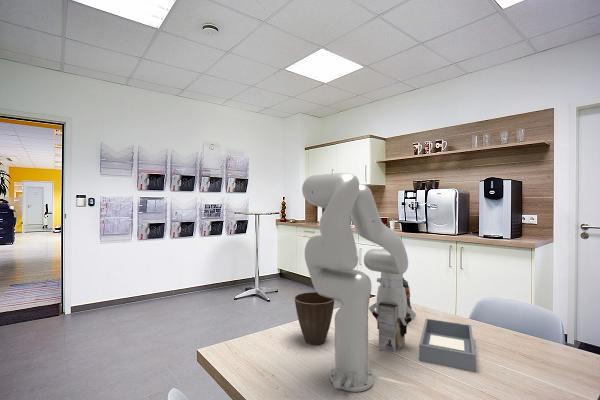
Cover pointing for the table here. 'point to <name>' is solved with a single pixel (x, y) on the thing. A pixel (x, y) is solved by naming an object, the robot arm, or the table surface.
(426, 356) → the tote
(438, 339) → the cream rectangular block
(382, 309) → the coffee box
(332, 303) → the plant pot
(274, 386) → the table surface
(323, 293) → the robot arm
